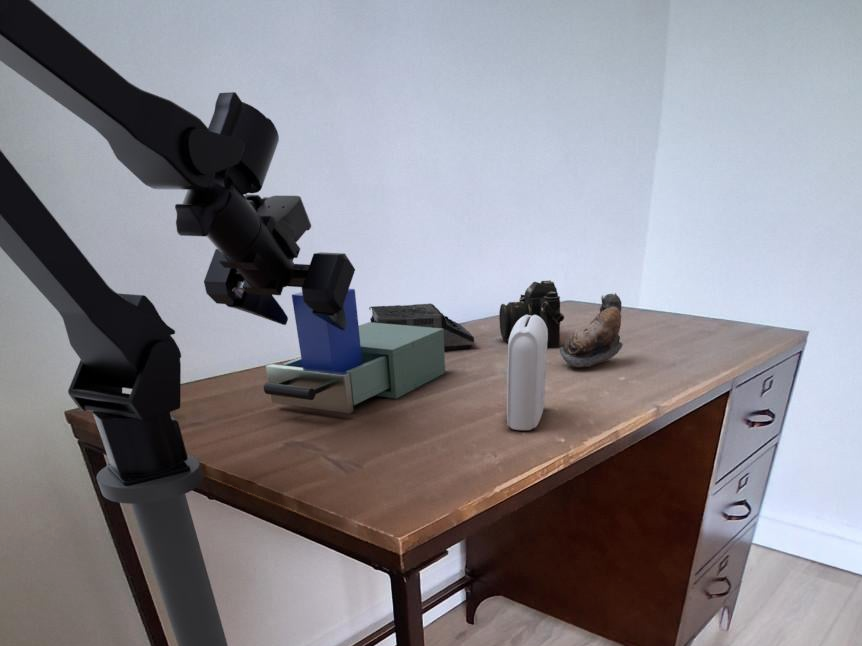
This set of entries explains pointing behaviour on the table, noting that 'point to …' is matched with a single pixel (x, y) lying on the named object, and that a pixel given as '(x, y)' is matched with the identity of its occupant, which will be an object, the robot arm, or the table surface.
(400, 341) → the cabinet
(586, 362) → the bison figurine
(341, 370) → the carton
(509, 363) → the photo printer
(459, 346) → the electronic device
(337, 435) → the table surface
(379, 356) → the drawer
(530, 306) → the film camera
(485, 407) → the table surface
